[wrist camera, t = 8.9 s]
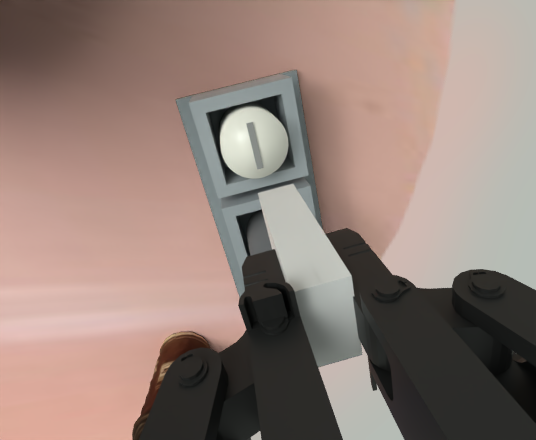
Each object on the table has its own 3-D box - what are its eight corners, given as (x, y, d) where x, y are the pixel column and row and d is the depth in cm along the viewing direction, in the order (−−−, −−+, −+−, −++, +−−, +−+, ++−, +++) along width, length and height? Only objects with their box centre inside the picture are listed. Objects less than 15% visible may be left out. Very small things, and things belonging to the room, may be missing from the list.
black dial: (240, 212, 32) (245, 245, 26) (294, 198, 32) (311, 228, 26) (253, 258, 34) (260, 297, 28) (303, 245, 34) (321, 281, 29)
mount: (176, 99, 31) (168, 107, 26) (294, 69, 31) (310, 72, 26) (246, 314, 42) (250, 350, 37) (331, 291, 43) (348, 323, 38)
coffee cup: (219, 321, 42) (222, 421, 31) (223, 369, 46) (227, 475, 34) (146, 328, 41) (120, 435, 29) (156, 377, 45) (136, 490, 33)
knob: (212, 109, 30) (212, 120, 25) (269, 94, 30) (281, 103, 25) (227, 164, 33) (230, 186, 27) (280, 151, 33) (294, 170, 27)
